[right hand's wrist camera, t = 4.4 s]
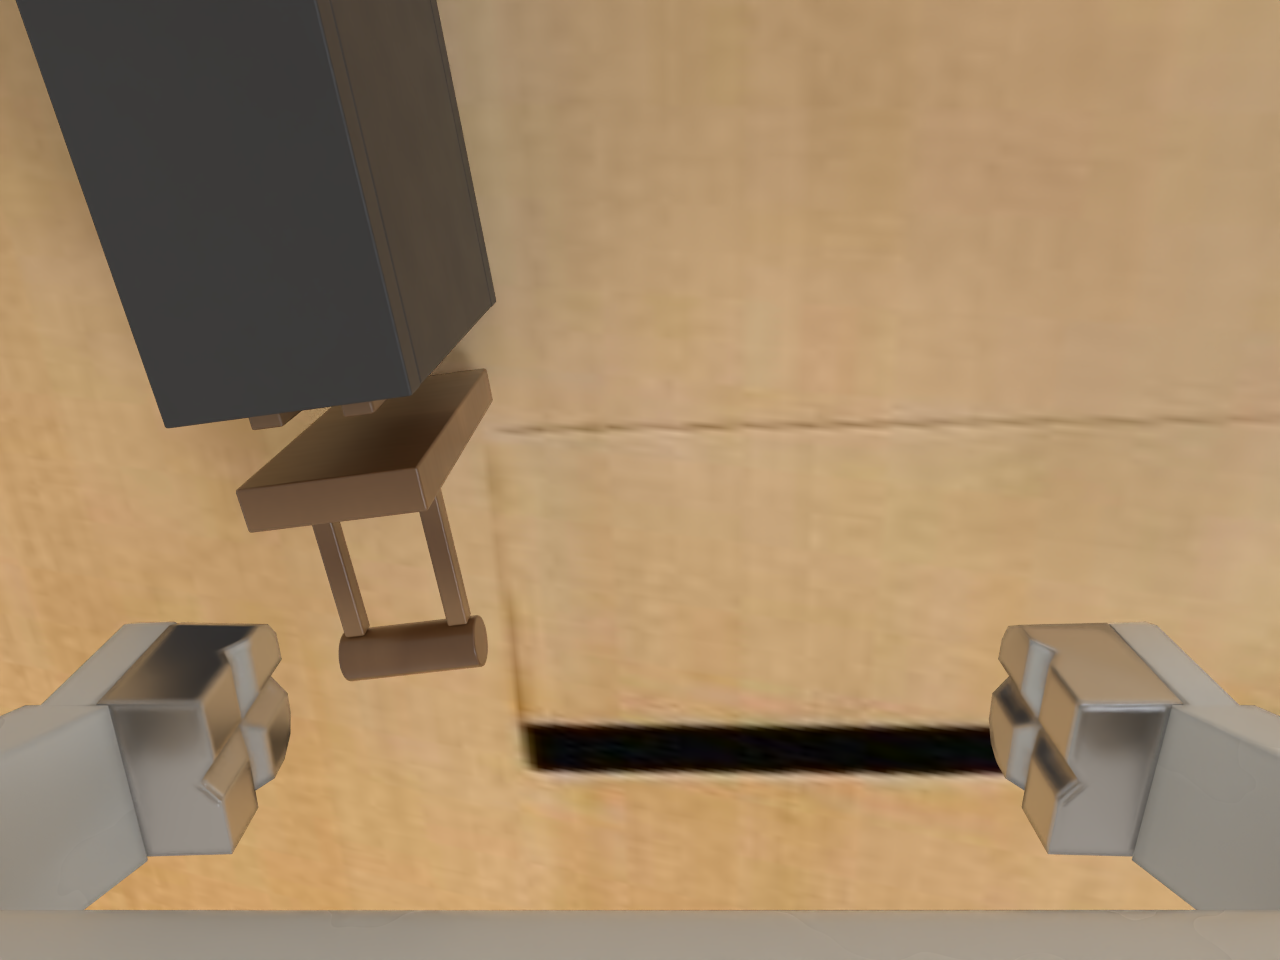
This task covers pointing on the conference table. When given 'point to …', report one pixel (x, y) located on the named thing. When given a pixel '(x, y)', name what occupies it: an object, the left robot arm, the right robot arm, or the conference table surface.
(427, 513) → the drawer
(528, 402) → the conference table surface
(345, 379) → the cabinet
